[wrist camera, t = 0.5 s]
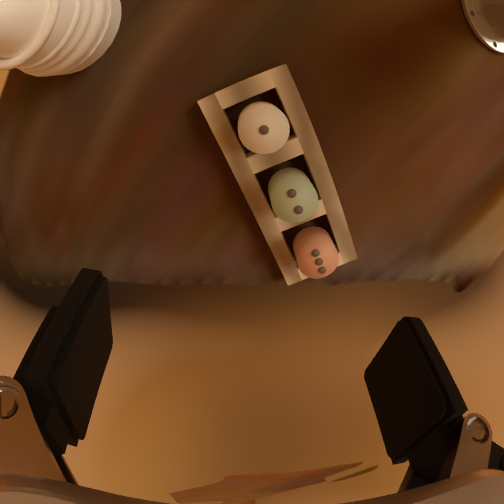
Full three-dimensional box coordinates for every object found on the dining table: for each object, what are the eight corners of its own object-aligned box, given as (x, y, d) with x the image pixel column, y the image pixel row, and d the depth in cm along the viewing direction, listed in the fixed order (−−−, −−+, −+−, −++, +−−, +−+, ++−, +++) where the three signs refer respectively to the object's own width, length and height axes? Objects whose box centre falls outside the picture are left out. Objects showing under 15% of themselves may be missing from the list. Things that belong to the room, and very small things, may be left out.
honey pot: (21, 69, 27) (-82, 91, 12) (49, -22, 21) (-45, -46, 6) (102, 81, 30) (5, 100, 14) (137, -19, 24) (64, -73, 8)
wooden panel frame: (283, 64, 30) (285, 63, 29) (352, 250, 43) (357, 258, 41) (199, 100, 32) (197, 101, 30) (286, 276, 45) (288, 285, 43)
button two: (301, 160, 34) (309, 172, 30) (315, 197, 36) (324, 213, 33) (261, 177, 35) (264, 190, 31) (277, 213, 37) (282, 230, 34)
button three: (324, 220, 38) (333, 237, 34) (334, 251, 40) (343, 270, 37) (287, 235, 39) (292, 253, 35) (300, 265, 41) (306, 285, 38)
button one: (273, 94, 30) (277, 97, 26) (290, 134, 32) (297, 143, 29) (230, 112, 31) (229, 117, 27) (249, 152, 33) (250, 162, 30)
